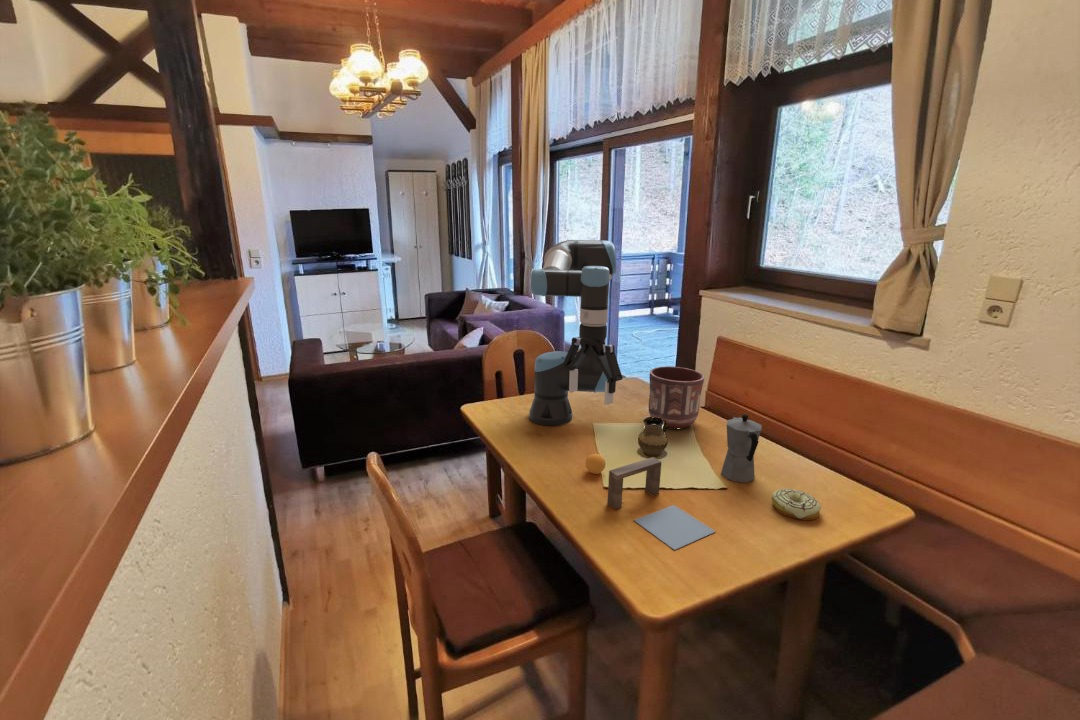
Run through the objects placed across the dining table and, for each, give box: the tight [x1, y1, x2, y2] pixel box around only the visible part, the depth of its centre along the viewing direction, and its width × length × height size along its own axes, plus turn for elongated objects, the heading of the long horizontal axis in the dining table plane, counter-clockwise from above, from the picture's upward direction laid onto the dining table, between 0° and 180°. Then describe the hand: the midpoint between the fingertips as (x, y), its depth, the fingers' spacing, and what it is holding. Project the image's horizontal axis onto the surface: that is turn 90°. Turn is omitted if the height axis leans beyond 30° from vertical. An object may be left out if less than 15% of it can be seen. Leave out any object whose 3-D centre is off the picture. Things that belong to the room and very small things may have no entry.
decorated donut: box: [771, 488, 822, 521], centre depth 128 cm, size 10×11×4 cm
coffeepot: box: [720, 413, 762, 484], centre depth 142 cm, size 15×9×18 cm, turn 0°
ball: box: [585, 453, 607, 475], centre depth 145 cm, size 6×6×6 cm
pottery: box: [648, 366, 705, 430], centre depth 178 cm, size 18×18×18 cm
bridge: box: [607, 456, 662, 510], centre depth 131 cm, size 3×14×9 cm, turn 122°
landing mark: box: [633, 504, 717, 551], centre depth 121 cm, size 13×13×1 cm
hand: (590, 397), depth 148 cm, fingers open, 13 cm apart
